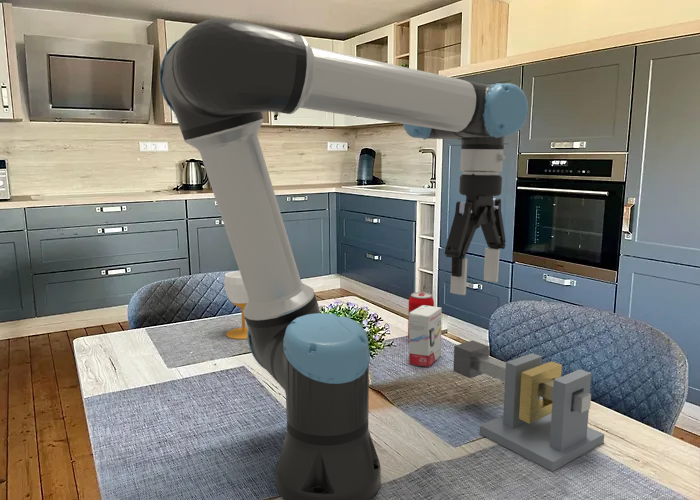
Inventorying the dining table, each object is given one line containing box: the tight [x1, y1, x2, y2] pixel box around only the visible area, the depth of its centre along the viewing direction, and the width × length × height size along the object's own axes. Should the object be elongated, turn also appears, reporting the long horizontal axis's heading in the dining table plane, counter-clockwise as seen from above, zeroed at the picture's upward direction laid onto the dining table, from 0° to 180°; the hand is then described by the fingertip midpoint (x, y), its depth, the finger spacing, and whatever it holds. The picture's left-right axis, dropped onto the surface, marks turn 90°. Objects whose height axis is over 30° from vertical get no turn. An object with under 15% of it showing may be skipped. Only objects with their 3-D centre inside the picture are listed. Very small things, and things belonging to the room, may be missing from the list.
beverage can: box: [407, 291, 435, 340], centre depth 138 cm, size 6×6×12 cm
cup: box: [223, 270, 249, 340], centre depth 144 cm, size 9×9×16 cm
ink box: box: [408, 305, 443, 368], centre depth 126 cm, size 9×5×12 cm, turn 150°
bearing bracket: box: [479, 352, 605, 472], centre depth 91 cm, size 14×14×12 cm
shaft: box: [453, 340, 592, 413], centre depth 95 cm, size 5×25×5 cm, turn 36°
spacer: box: [519, 361, 563, 424], centre depth 91 cm, size 8×2×8 cm, turn 126°
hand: (475, 287), depth 105 cm, fingers open, 13 cm apart
